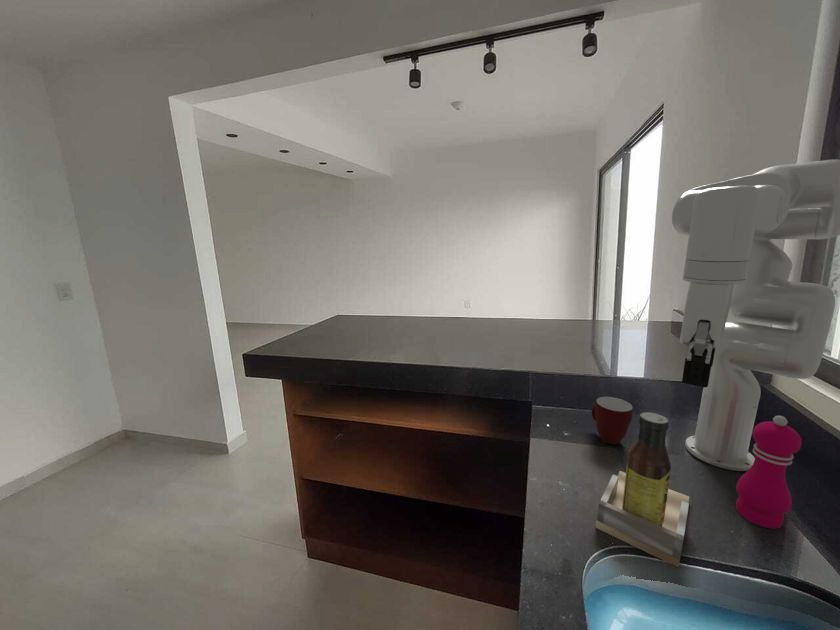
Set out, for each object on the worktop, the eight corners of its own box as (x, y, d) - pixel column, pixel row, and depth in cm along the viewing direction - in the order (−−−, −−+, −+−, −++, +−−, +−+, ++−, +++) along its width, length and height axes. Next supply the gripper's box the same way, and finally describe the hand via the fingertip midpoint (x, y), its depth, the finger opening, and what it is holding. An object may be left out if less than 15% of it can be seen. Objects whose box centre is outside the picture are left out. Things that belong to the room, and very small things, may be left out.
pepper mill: (792, 538, 60) (820, 432, 56) (736, 520, 64) (758, 420, 59) (778, 510, 66) (803, 412, 62) (728, 496, 70) (748, 402, 65)
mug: (577, 430, 93) (580, 395, 91) (600, 424, 96) (603, 390, 94) (611, 452, 84) (616, 414, 82) (635, 445, 87) (641, 407, 85)
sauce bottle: (669, 539, 59) (687, 431, 54) (627, 532, 60) (642, 427, 56) (652, 509, 65) (668, 410, 61) (615, 504, 66) (628, 407, 62)
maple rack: (619, 475, 76) (621, 456, 75) (688, 502, 68) (692, 480, 67) (595, 527, 63) (598, 504, 62) (678, 567, 55) (683, 542, 54)
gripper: (690, 264, 63) (677, 354, 67) (676, 277, 51) (661, 387, 55) (747, 266, 58) (729, 363, 62) (747, 281, 46) (724, 401, 50)
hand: (697, 374), depth 59 cm, fingers open, 9 cm apart
